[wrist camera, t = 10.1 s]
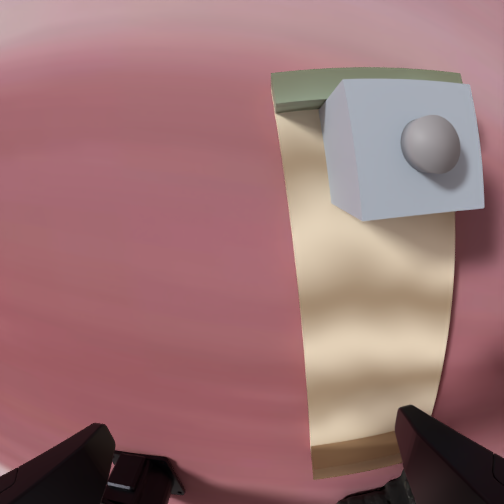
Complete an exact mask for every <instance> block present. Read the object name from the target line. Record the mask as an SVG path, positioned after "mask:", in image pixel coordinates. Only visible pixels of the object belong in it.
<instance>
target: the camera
mask: <svg viewBox="0 0 504 504" xmlns="http://www.w3.org/2000/svg"><path fill="white" fill-rule="evenodd" d="M337 504H417V503H416V501H415V498H414V495H413V493H412V490H411V487H410V485H409V482H408V479H407V477H406V474H405V471H404V469H403V471H402V474H401V476H400V477H399V478H397V479H395V480H392V481H390V482H388V483H386V484H385V486H383V487H382V489H381V491H375V492H371V493H368V494H363V495H359V496H352V497H349V498H347V499H343V500H340V501H338V502H337Z"/></svg>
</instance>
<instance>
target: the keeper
mask: <svg viewBox="0 0 504 504" xmlns="http://www.w3.org/2000/svg"><path fill="white" fill-rule="evenodd" d="M318 111H319V117H320V123H321V129H322V136H323V142H324V149H325V156H326V163H327V171H328V179H329V187H330V196H331V203H332V204H333V205H335V206H337V207H339V208H340V209H342V210H344V211H346V212H347V213H349V214H351V215H352V216H354V217H356V218H357V219H359V220H361V221H370V220H379V219H388V218H396V217H405V216H415V215H424V214H433V213H442V212H452V211H462V210H472V209H482V208H484V185H483V170H482V159H481V149H480V141H479V133H478V126H477V120H476V114H475V108H474V103H473V98H472V93H471V88H470V85H469V84H460V83H451V82H441V81H428V80H411V79H343V80H342V81H341V82H340V83H339V85H338V86H337V87H336V88H335V90H334V91H333V92H332V93H331V95H330V96H329V97H328V99H327V100H326V101H325V102H324V104H323V105H322V106H321V108H320V109H319V110H318Z"/></svg>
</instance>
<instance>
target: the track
mask: <svg viewBox="0 0 504 504" xmlns="http://www.w3.org/2000/svg"><path fill="white" fill-rule="evenodd" d="M343 79H411V80H428V81H441V82H451V83H460V84H463V83H462V79H461V75H460V73H453V72H444V71H434V70H423V69H407V68H380V67H354V68H326V69H310V70H298V71H287V72H278V73H271V93H272V99H273V105H274V111H275V118H276V124H277V130H278V137H279V143H280V150H281V157H282V164H283V171H284V178H285V185H286V192H287V200H288V208H289V215H290V223H291V231H292V240H293V248H294V257H295V266H296V275H297V284H298V294H299V303H300V314H301V324H302V335H303V346H304V358H305V371H306V384H307V398H308V413H309V430H310V448H311V458H312V469H313V480H316V479H323V478H330V477H337V476H343V475H349V474H354V473H360V472H365V471H369V470H374V469H378V468H383V467H387V466H391V465H395V464H399V463H402V458H401V454H400V450H399V446H398V443H397V439H396V435H395V421H396V416H397V411H398V408H399V407H402V406H406V405H410V404H411V405H414V406H415V407H417V408H419V409H420V410H422V411H424V412H425V413H427V414H428V415H430V416H431V415H432V411H433V407H434V403H435V399H436V395H437V391H438V386H439V382H440V377H441V372H442V367H443V362H444V356H445V350H446V344H447V337H448V330H449V323H450V315H451V305H452V295H453V282H454V264H455V211H452V212H442V213H433V214H424V215H415V216H405V217H396V218H388V219H379V220H370V221H361V220H359V219H357V218H356V217H354V216H352V215H351V214H349V213H347V212H346V211H344V210H342V209H340V208H339V207H337V206H335V205H333V204H332V203H331V196H330V187H329V179H328V171H327V163H326V156H325V149H324V142H323V136H322V129H321V123H320V117H319V111H318V110H319V109H320V108H321V106H322V105H323V104H324V102H325V101H326V100H327V99H328V97H329V96H330V95H331V93H332V92H333V91H334V90H335V88H336V87H337V86H338V85H339V83H340V82H341V81H342V80H343Z"/></svg>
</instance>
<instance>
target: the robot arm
mask: <svg viewBox="0 0 504 504" xmlns="http://www.w3.org/2000/svg"><path fill="white" fill-rule="evenodd" d="M395 435H396V439H397V443H398V446H399V450H400V454H401V458H402V463H403V467H404V471H405V474H406V477H407V479H408V482H409V485H410V487H411V490H412V493H413V495H414V498H415V501H416V503H417V504H504V458H502V457H501V456H499V455H497V454H493V452H491V451H490V450H488V449H486V448H484V447H483V446H481V445H479V444H477V443H476V442H474V441H472V440H470V439H469V438H467V437H465V436H464V435H462V434H460V433H458V432H457V431H455V430H453V429H452V428H450V427H448V426H447V425H445V424H443V423H442V422H440V421H438V420H437V419H435V418H433V417H432V416H430V415H428V414H427V413H425V412H424V411H422V410H420V409H419V408H417V407H415V406H414V405H411V404H410V405H406V406H402V407H399V408H398V411H397V416H396V421H395ZM112 462H113V463H114V465H115V466H114V468H113V470H112V472H111V474H110V476H109V473H110V469H111V464H112ZM171 494H177V495H184V494H185V489H184V488H183V486H182V484H181V483H180V481H179V479H178V477H177V475H176V474H175V472H174V470H173V468H172V466H171V465H170V463H169V461H168V459H166V458H164V457H157V456H148V455H140V454H132V453H125V452H119V451H115V441H114V439H113V437H112V435H111V433H110V431H109V429H108V428H107V426H106V425H105V424H100V423H93V424H91V425H90V426H88V427H86V428H85V429H83V430H81V431H80V432H78V433H76V434H75V435H73V436H71V437H70V438H68V439H66V440H65V441H63V442H61V443H60V444H58V445H56V446H55V447H53V448H51V449H49V450H48V451H46V452H44V453H42V454H41V455H39V456H37V457H35V458H34V459H32V460H30V461H28V462H26V463H25V464H23V465H21V466H19V468H15V469H14V470H12V471H10V472H8V473H6V474H4V475H2V476H0V504H168V501H169V498H170V495H171Z"/></svg>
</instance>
